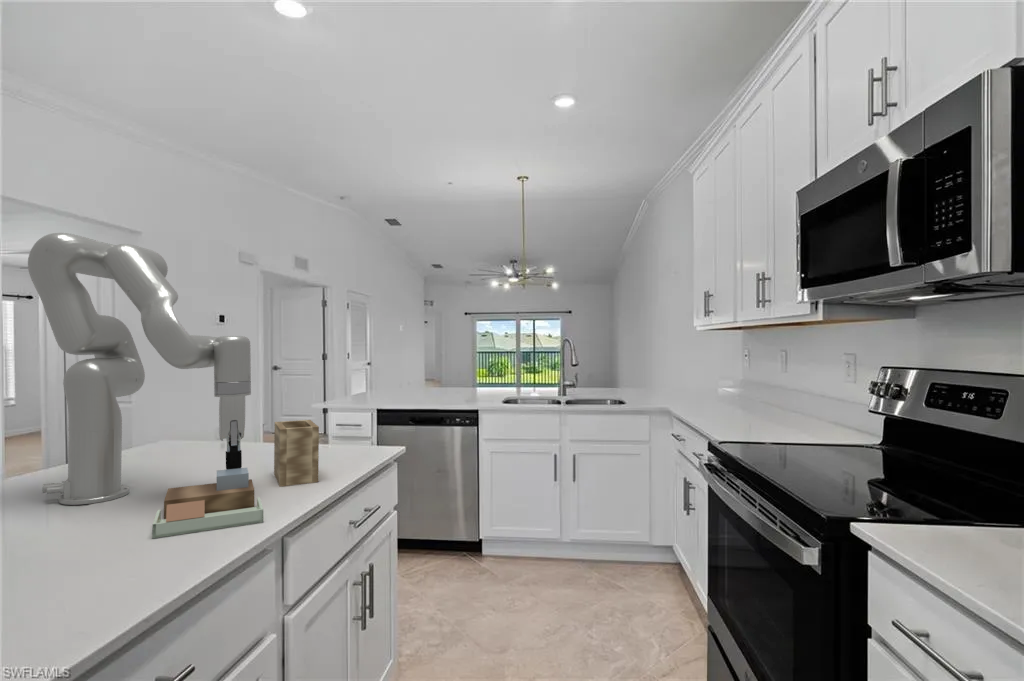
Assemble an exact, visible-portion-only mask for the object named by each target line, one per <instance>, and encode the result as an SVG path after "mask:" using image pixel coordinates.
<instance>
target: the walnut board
mask: <svg viewBox="0 0 1024 681" xmlns="http://www.w3.org/2000/svg"><path fill="white" fill-rule="evenodd" d="M201 500H205V514H207V513H215V512H222V511H230V510H237V509H244V508H252V507H255V487H254V483H253V480H252V479H250V478H249V482H248V487H246V488H237V489H229V490H220V491H217V482H213V483H205V484H197V485H196V484H195V485H188V486H179V487H178V486H177V487H169V488H167V490H166V494H165V497H164V499H163V519H166V509H167V505H169V504H177V503H185V502H193V501H201Z"/></svg>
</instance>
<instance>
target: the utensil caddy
mask: <svg viewBox="0 0 1024 681" xmlns="http://www.w3.org/2000/svg"><path fill="white" fill-rule="evenodd" d="M319 429H320V427H319V426H318V425H317V424H316V423H315V422H313V420H311V419H300V420H299V419H298V420H286V421H274V429H273V430H274V433H273V434H274V436H273V437H274V441H273V443H274V446H273V447H274V448H273V449H274V450H273V455H274V456H273V459H274V460H273V462H274V463H273V475H274V477H275V480H276V481H277V484H278V486H279V487H280V488H281V487H290V486H297V485H298V486H299V485H305V484H314V483H319V459H320V458H319V457H320V456H319V453H320V452H319V450H320V449H319V448H320V447H319V446H320V445H319V444H320V441H319V440H320V438H319V437H320V434H319V433H320V432H319V431H320V430H319Z"/></svg>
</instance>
